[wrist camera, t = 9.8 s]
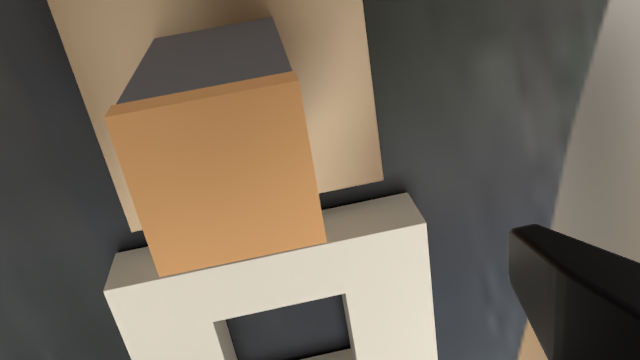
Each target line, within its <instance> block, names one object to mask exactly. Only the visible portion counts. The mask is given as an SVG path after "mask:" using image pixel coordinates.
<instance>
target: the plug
mask: <svg viewBox="0 0 640 360" xmlns="http://www.w3.org/2000/svg"><path fill="white" fill-rule="evenodd" d="M104 120H105V123H106V126H107V128H108V131H109V134H110V137H111V140H112V143H113V146H114V149H115V151H116V154H117V157H118V160H119V163H120V166H121V169H122V172H123V175H124V177H125V180H126V183H127V186H128V189H129V192H130V195H131V198H132V201H133V203H134V206H135V209H136V212H137V215H138V218H139V221H140V224H141V226H142V229H143V232H144V235H145V238H146V241H147V244H148V247H149V250H150V252H151V255H152V258H153V261H154V264H155V267H156V270H157V273H158V275H159V277H163V276H168V275H172V274H177V273H182V272H187V271H192V270H196V269H201V268H206V267H211V266H216V265H221V264H225V263H230V262H235V261H240V260H245V259H250V258H254V257H259V256H264V255H269V254H274V253H278V252H283V251H288V250H293V249H298V248H303V247H307V246H312V245H317V244H322V243H327V239H326V233H325V228H324V222H323V216H322V210H321V205H320V199H319V193H318V187H317V182H316V176H315V170H314V164H313V159H312V153H311V147H310V141H309V136H308V130H307V124H306V119H305V113H304V107H303V101H302V96H301V90H300V84H299V80H298V77H297V74H296V72H295V71H292V68H291V66H290V63H289V60H288V58H287V55H286V52H285V49H284V47H283V44H282V41H281V39H280V36H279V33H278V30H277V28H276V25H275V22H274V20H273V17H268V18H263V19H258V20H252V21H247V22H241V23H236V24H230V25H225V26H219V27H214V28H208V29H203V30H197V31H192V32H186V33H181V34H176V35H170V36H165V37H159V38H154V40H153V41H152V43H151V45H150V46H149V48H148V50H147V52H146V53H145V55H144V57H143V58H142V60H141V62H140V64H139V65H138V67H137V69H136V70H135V72H134V74H133V76H132V77H131V79H130V81H129V82H128V84H127V86H126V88H125V89H124V91H123V93H122V94H121V96H120V98H119V100H118V101H117V103H116V105H111V106H110V108H109V110H108V111H107V113H106V115H105V116H104Z"/></svg>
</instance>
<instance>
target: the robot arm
mask: <svg viewBox="0 0 640 360" xmlns="http://www.w3.org/2000/svg"><path fill="white" fill-rule="evenodd" d="M508 275H509V280H510V283H511V286H512V288H513V290H514V292H515V294H516V296H517V298H518V300H519V302H520V304H521V306H522V308H523V310H524V312H525V314H526V316H527V318H528V320H529V322H530V324H531V326H532V328H533V330H534V332H535V334H536V336H537V338H538V340H539V342H540V344H541V346H542V348H543V350H544V352H545V354H546V356H547V358H548V360H640V263H638V262H636V261H633V260H630V259H628V258H625V257H623V256H620V255H617V254H615V253H611V252H609V251H606V250H604V249H601V248H599V247H596V246H593V245H591V244H588V243H585V242H583V241H580V240H577V239H575V238H572V237H569V236H566V235H564V234H561V233H559V232H556V231H553V230H551V229H548V228H545V227H543V226H540V225H537V224H531V225H527V226H522V227H517V228H513V229H512V230H511V231H510V232H509V235H508Z"/></svg>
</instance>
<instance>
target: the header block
mask: <svg viewBox="0 0 640 360" xmlns="http://www.w3.org/2000/svg"><path fill="white" fill-rule="evenodd" d="M322 216H323V222H324V228H325V233H326V239H327V243H322V244H317V245H312V246H307V247H303V248H298V249H293V250H288V251H283V252H278V253H274V254H269V255H264V256H259V257H254V258H250V259H245V260H240V261H235V262H230V263H225V264H221V265H216V266H211V267H206V268H201V269H196V270H192V271H187V272H182V273H177V274H172V275H168V276H163V277H159V275H158V273H157V270H156V267H155V264H154V261H153V258H152V255H151V252H150V250H149V247H143V248H138V249H134V250H129V251H124V252H119V253H116V254H115V257H114V260H113V263H112V266H111V269H110V272H109V275H108V278H107V281H106V284H105V287H104V290H103V292H104V295H105V297H106V300H107V302H108V304H109V307H110V309H111V312H112V314H113V316H114V319H115V321H116V324H117V326H118V328H119V331H120V333H121V336H122V338H123V341H124V343H125V345H126V348H127V350H128V353H129V355H130V357H131V360H237V357H236V353H235V350H234V347H233V343H232V340H231V337H230V333H229V330H228V327H227V323H226V320H225V319H229V318H234V317H239V316H243V315H248V314H252V313H257V312H262V311H266V310H271V309H275V308H280V307H285V306H289V305H294V304H298V303H303V302H308V301H312V300H317V299H321V298H326V297H331V296H335V295H340V294H342V300H343V306H344V312H345V317H346V323H347V329H348V334H349V340H350V346H351V348H350V349H346V350H341V351H337V352H332V353H328V354H323V355H319V356H314V357H310V358H305V359H301V360H438V358H437V346H436V334H435V322H434V310H433V298H432V286H431V274H430V262H429V250H428V238H427V226H426V222H425V220H424V218H423V217H422V215H421V213H420V212H419V210H418V209H417V207H416V205H415V204H414V202H413V200H412V199H411V197H410V196H409V194H408V192H407V193H402V194H397V195H393V196H388V197H383V198H378V199H373V200H369V201H364V202H359V203H354V204H349V205H345V206H340V207H335V208H330V209H326V210H322Z"/></svg>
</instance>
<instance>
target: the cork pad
mask: <svg viewBox="0 0 640 360" xmlns="http://www.w3.org/2000/svg"><path fill="white" fill-rule="evenodd" d="M47 2H48V4H49V7H50V10H51V13H52V15H53V18H54V21H55V24H56V26H57V29H58V32H59V35H60V37H61V40H62V43H63V46H64V48H65V51H66V54H67V56H68V59H69V62H70V65H71V67H72V70H73V73H74V76H75V78H76V81H77V84H78V87H79V89H80V92H81V95H82V98H83V100H84V103H85V106H86V109H87V111H88V114H89V117H90V120H91V122H92V125H93V128H94V131H95V133H96V136H97V139H98V142H99V144H100V147H101V150H102V153H103V155H104V158H105V161H106V164H107V166H108V169H109V172H110V174H111V177H112V180H113V183H114V185H115V188H116V191H117V194H118V196H119V199H120V202H121V205H122V207H123V210H124V213H125V216H126V218H127V221H128V224H129V227H130V229H131V232H135V231H140V230H143V229H142V226H141V224H140V221H139V218H138V215H137V212H136V209H135V206H134V203H133V201H132V198H131V195H130V192H129V189H128V186H127V183H126V180H125V177H124V175H123V172H122V169H121V166H120V163H119V160H118V157H117V154H116V151H115V149H114V146H113V143H112V140H111V137H110V134H109V131H108V128H107V126H106V123H105V120H104V116H105V115H106V113H107V111H108V110H109V108H110V106H111V105H116V103H117V101H118V100H119V98H120V96H121V94H122V93H123V91H124V89H125V88H126V86H127V84H128V82H129V81H130V79H131V77H132V76H133V74H134V72H135V70H136V69H137V67H138V65H139V64H140V62H141V60H142V58H143V57H144V55H145V53H146V52H147V50H148V48H149V46H150V45H151V43H152V41H153V40H154V38H159V37H165V36H170V35H176V34H181V33H186V32H192V31H197V30H203V29H208V28H214V27H219V26H225V25H230V24H236V23H241V22H247V21H252V20H258V19H263V18H268V17H273V20H274V22H275V25H276V28H277V30H278V33H279V36H280V39H281V41H282V44H283V47H284V49H285V52H286V55H287V58H288V60H289V63H290V66H291V68H292V71H295V72H296V74H297V77H298V80H299V84H300V90H301V96H302V101H303V107H304V113H305V119H306V124H307V130H308V136H309V141H310V147H311V153H312V159H313V164H314V170H315V176H316V182H317V187H318V193H324V192H328V191H333V190H338V189H343V188H348V187H353V186H357V185H362V184H367V183H372V182H377V181H382V180H384V179H383V170H382V162H381V153H380V145H379V136H378V128H377V120H376V111H375V103H374V94H373V86H372V77H371V69H370V61H369V52H368V44H367V35H366V27H365V18H364V10H363V2H362V0H47Z"/></svg>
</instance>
